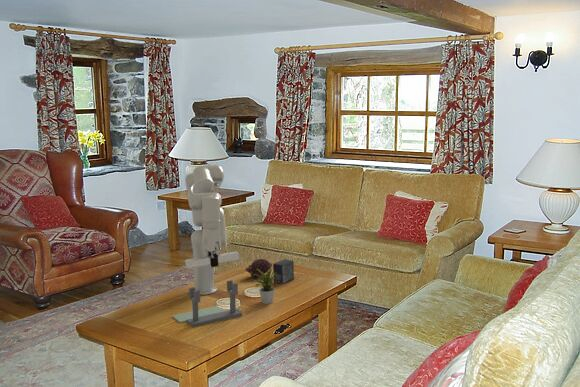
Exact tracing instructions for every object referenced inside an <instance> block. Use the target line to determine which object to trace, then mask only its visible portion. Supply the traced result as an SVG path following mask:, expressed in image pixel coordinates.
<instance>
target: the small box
mask: <svg viewBox="0 0 580 387" xmlns="http://www.w3.org/2000/svg"><path fill="white" fill-rule="evenodd" d="M294 263H295V262H294V260H293V259H287V258H284V259H281V260H279V261H276V262H274V263H272V272H273V270H274V272H273V275H274V273H275V275H274V277H275V276H276V277H275V278H274V277H273V278H274V279H273V283H274V282H275V283H274V284H280V285H284V284H286V283H288V282H291V281H292V280H295V272H294V271H295V269H294V268H295V266H294ZM273 275H272V276H273ZM276 281H279V282H276Z"/></svg>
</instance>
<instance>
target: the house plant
mask: <svg viewBox="0 0 580 387" xmlns="http://www.w3.org/2000/svg"><path fill="white" fill-rule="evenodd" d="M257 270H258V269H257ZM259 271H260V270H259ZM273 272H274V270H273V267H271V269H270V270H268V272H267V273H266V275H265V274H264V273H263V272H261V271H260V273H261V275H262V276H259V275H258V276H259V278H257V279H258V280H254V279H253V280H251V281H252V282H253V283H255V284H254V286H255V288H257V287H259V286H260V288H259V293H260V294H259V295H260V300H261V303H262V304H265V305H266V304H268V305H269V304H272V303H273V302H274V295H275V294H274V293H275V288H274V286H273V284H276V283H275V282H274V278H275V277H276V276H275V277H274V275H275V273H274V275H273ZM256 275H257V274H256ZM276 282H279V281H276Z"/></svg>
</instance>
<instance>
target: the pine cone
mask: <svg viewBox="0 0 580 387" xmlns="http://www.w3.org/2000/svg"><path fill="white" fill-rule="evenodd" d="M271 268H273V263H271V262H269V260H267V259H265V258H257V259H254V260H253V261H252V263H251V264H248V267H245V271H246V272H247V273H249V274H250V276H251V277H253V278H257V279H258V278H259V279H260V277H262V275H261V273H260V271H261V272H263V273H264V275H265V274H267V272H268V270H269V271H270V269H271ZM257 269H258V270H257ZM259 270H260V271H259ZM256 274H257V275H256ZM258 275H259V276H260V277H259V276H258Z"/></svg>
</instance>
